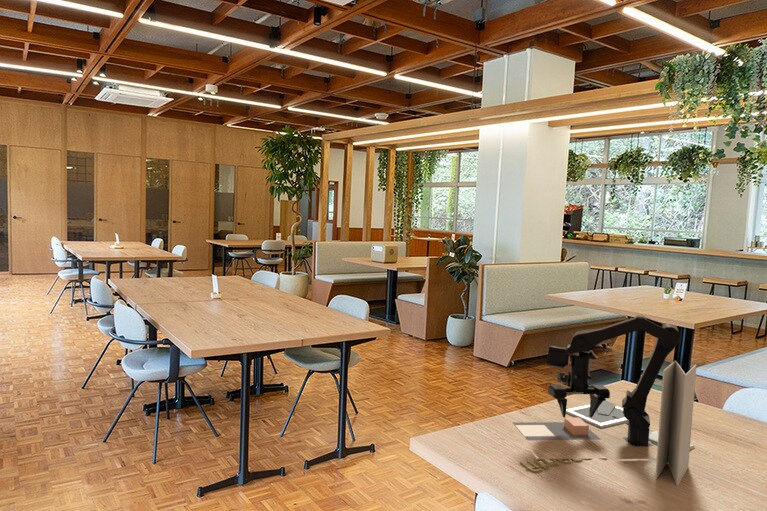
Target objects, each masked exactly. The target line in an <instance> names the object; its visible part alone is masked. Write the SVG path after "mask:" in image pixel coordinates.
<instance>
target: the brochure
mask: <svg viewBox="0 0 767 511" xmlns="http://www.w3.org/2000/svg"><path fill="white" fill-rule="evenodd" d="M696 375H697V364H696V363H695V364H693V366H692V367H691V368H690V369H689V371H687V372H686V373H685V371H684V369H682V367H681V365H680V364H679V363H678V361H677V360H674V361H673V362H671V363H670V364H669V365H668V366H666V368H664V369H663V370H662V383H661V398H660V407H659V408H660V409H659V410H660V411H659V424H658V432H659V434H658V445H657V448H656V449H657V451H656V452H657V453H656V463H655V464H656V465H655V476H654V478H655V480H657V479H658V477H659V476H660V474H661V473H662V471H663V470H664V468H665V467H666V465H667V464H668V466H669V470H670V471H671V474H672V478H673V480H674V482H675V485H676V486H679V485H680V482H681V480H682V479H683V477H684V475H685V474H686V472H687V470H688V469H689V464H690V453H691V452H690V444H691V442H692V441H691V438H692V427H693V412H694V402H695V401H694V400H695V388H696Z"/></svg>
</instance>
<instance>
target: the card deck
mask: <svg viewBox="0 0 767 511" xmlns="http://www.w3.org/2000/svg"><path fill="white" fill-rule="evenodd" d="M563 422H564V427H565V428H566V429H568V430H569V431H570V432H571V433H572V434H573V435H588V432H589V429H590V425H589V424H588V423H587V422H586V421H583V420H581V419H580V418H576V417H565V418H564V420H563Z"/></svg>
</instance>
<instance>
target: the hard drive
mask: <svg viewBox="0 0 767 511" xmlns="http://www.w3.org/2000/svg"><path fill="white" fill-rule="evenodd" d="M658 434H659V431H657V430H654V431H651V432H649V443H650V444H655V445H657V446H658ZM693 449H695V445H694V444H691V443H690V450H693Z"/></svg>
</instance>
